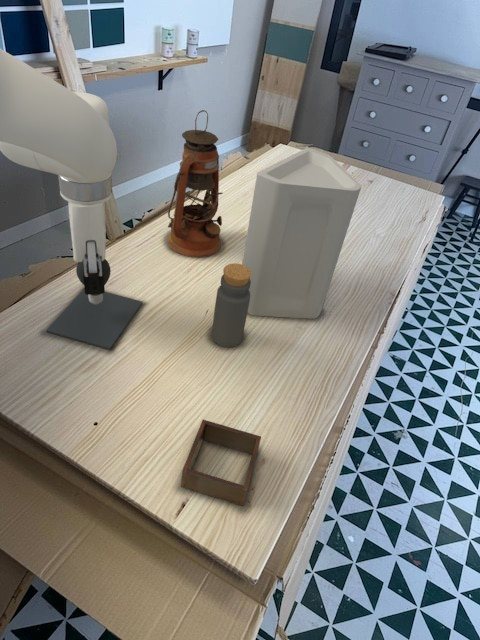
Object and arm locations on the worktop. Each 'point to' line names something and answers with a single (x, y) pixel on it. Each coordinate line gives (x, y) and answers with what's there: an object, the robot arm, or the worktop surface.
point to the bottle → (231, 305)
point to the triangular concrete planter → (297, 233)
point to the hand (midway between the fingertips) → (94, 281)
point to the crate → (213, 484)
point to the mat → (95, 319)
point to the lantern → (196, 220)
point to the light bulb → (105, 269)
